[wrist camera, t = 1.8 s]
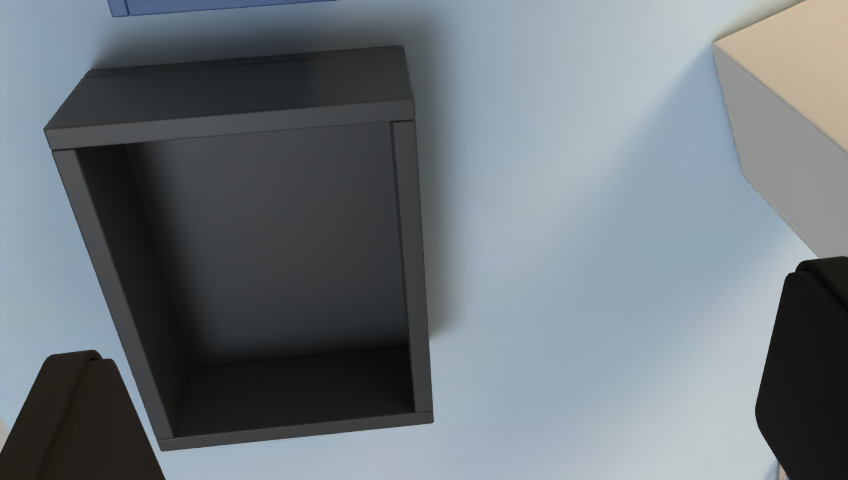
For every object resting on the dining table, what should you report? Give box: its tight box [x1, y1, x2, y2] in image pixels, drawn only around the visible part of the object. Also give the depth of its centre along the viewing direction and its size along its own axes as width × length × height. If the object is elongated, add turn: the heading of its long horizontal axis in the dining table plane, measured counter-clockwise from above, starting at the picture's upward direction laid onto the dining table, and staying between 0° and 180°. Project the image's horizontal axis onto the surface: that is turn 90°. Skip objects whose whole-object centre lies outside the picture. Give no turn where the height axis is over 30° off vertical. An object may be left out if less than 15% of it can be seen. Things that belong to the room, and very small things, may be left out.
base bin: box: [44, 46, 434, 451], centre depth 31 cm, size 16×12×5 cm
